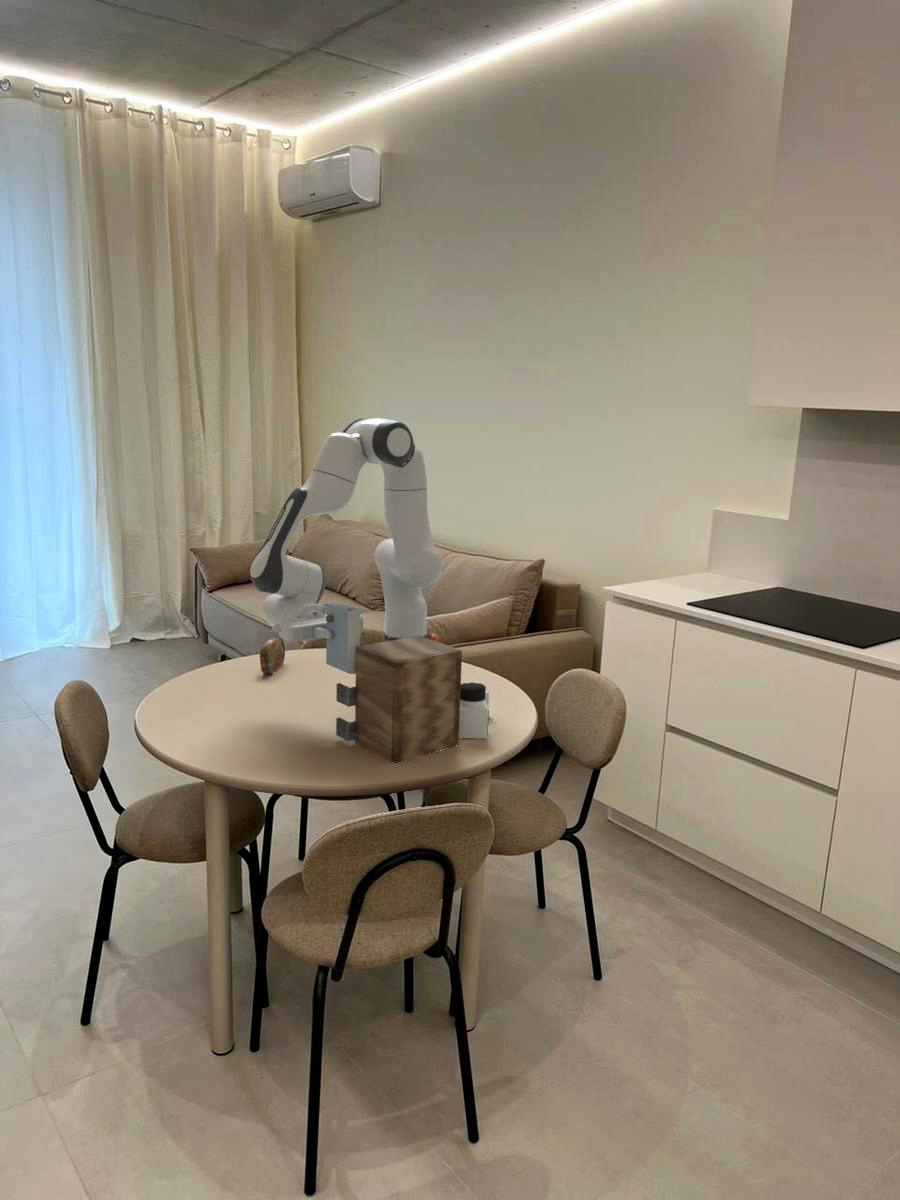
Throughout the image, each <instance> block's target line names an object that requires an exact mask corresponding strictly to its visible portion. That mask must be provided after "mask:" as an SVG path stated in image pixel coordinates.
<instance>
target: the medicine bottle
mask: <svg viewBox="0 0 900 1200" xmlns="http://www.w3.org/2000/svg"><path fill="white" fill-rule="evenodd" d="M486 687H487V686H485V684H483V683H481V682H478V681H466V682H463V683H461V690H460V717H459V740H463V739H462V738H487V739H488V738H489V720H490V719H489V718H490V716H489V715H490V709H489V705H488V706H487V704H486V701H485V694H486V691H487V690H486V689H487V688H486Z"/></svg>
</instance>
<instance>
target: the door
mask: <svg viewBox="0 0 900 1200" xmlns="http://www.w3.org/2000/svg"><path fill="white" fill-rule="evenodd" d="M326 604H327V617H326V621H327V627H326V630H333V631H334V632H335V634H334V636H335V638H333V639H326V638H325V640H326V642H325V643H326V645H325V646H326V647H325V649H326V650H325V651H326V653H325V657H326V658H325V662H326V663H325V664H326V665H328V666H330V667H332V668H336V669H338V670H339V671H341V672H345V673H346V674H349V675H356V647H358V646H361V632H360V628H361V616H362V610H361V609H360V608H356V607H354V606H350V605H348V604H345V603H341V602H338V601H337V602H328V603H326Z"/></svg>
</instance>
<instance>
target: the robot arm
mask: <svg viewBox="0 0 900 1200" xmlns="http://www.w3.org/2000/svg"><path fill="white" fill-rule="evenodd" d="M367 463H369V464H376V465H377V464H380V465H379V466H381V469H382V470H383V475H384V476H383V494H384V495H383V500H384V519H385V522H386V524H387V526H388V527H389V531H390V535H391V537H390V538H386V539H384V540H382V541H380V543H379V544H378V545H377V546H376V548H375V551H374V554H373V555H374V562H375V565H376V567H377V570H378V572H379V576H380V581H381V587H382V588H381V589H382V593H383V598H384V616H385V617H384V632H383V635H382V638H383V639H382V642H387V641H392V640H398V639H403V638H409V637H415V636H421V637H424V638H427V639H430V640H433V641H436V642H438V641H439V639H440V638H439V635H438V634H434V633H431V634H430V633H428V632H427V627H428V626H427V621H428V619H427V617H428V606H427V602H426V600H425V597H424V595H423V591H422V588H427V587H431V586H433V585H434V584H436V583H437V582H438V581H439V579H440V577H441V575H442V572H443V562H442V559H441V558H440V555H439V554H438V551H437V550H436V547H435V543H434V539H433V535H432V532H431V527H430V522H429V514H428V511H429V510H428V484H427V483H428V481H427V471H426V465H425V461H424V455H423V452H422V451H421V450H420V448H418V447H417V446H416V444H415V443H414V438H413V434H412V431H411V430H410V428H409V427H408V426H407V425H406V424H405V423H403V422H401V421H400V420H396V419H392V418H391V419H388V418H382V417H373V418H359V419H356V420H353V421H352V422H350V423H348V424H347V425H346V427H344V428H343V430H342V432H334V433H331V434H329V435H328V436H327V437H326V438H325V440H324V442H323V444H322V445H321V448H320V449H319V451H318V453H317V456H316V458H315V461H314V463H313V467H312V469H311V473H310V475H309V476H308V479H307V480H306V481H305V482H304V484H302V486H301V487H297V488H295V489H293V491H292V492H290V494H289V496H288V497H287V499H286V500H285V502H284V504H283V506H282V508H281V510H280V512H279V513H278V515H277V518H276V519H275V521H274V523H273V525H272V527H271V529H270V531H269V533H268V536H267V537H266V539H265V541H264V542H263V545H261V547H260V550H259V551H258V552H257V553H256V555H255V556H254V558H253V559H252V561H251V564H250V567H249V571H248V572H249V577H250V580H251V582H252V584H253V586H254V587H255V589H256V590H257V591H259V592H262V593H268V594H270V595H268V596H267V597H266V598H265V599H264V601H263V603H262V609H261V610H262V615H263V618H264V619H265V621H266V622H267V623H268V624H269V625H270V626H271V630H272V631H273V632H274V633H275V632H276V633H278V636H279V637H281V638H282V639H283V641H286V642H289V643H296V642H297V643H298V642H304V641H305V642H313V641H316V640H318V639H325V640H326V639H333V638H335V636H334V634H335V632H334V631H333V630H326V627H327V621H326V617H327V603H325V604H323V603H321V604H320V601H321V600H322V597H323V596H324V591H325V588H326V580H325V579H326V578H325V574H324V571H323V570H322V568H321V566H320V565H318V564H317V563H313V562H310V561H307V560H305V559H301V558H297V557H293V556H292V555H289V554H286V552H287V550H288V547H289V546H290V543H291V541H292V539H293V538H294V535H295V533H296V531H297V529H298V528H299V526H300V524H301V523H302V522H303V521H304V520H305V519H306V518H309V517H313V516H318V515H319V516H321V515H330V514H334V513H337V512H340V511H341V510H343V509H345V508H346V507H347V506H348V505H349V503H350V501H351V499H352V497H353V494H354V491H355V488H356V485H357V481H358V479H359V475H360V472H361V469H362V468H363V467H364V465H365V464H367ZM363 630H364V617H363V615H361V628H360V633H361V632H363Z"/></svg>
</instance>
